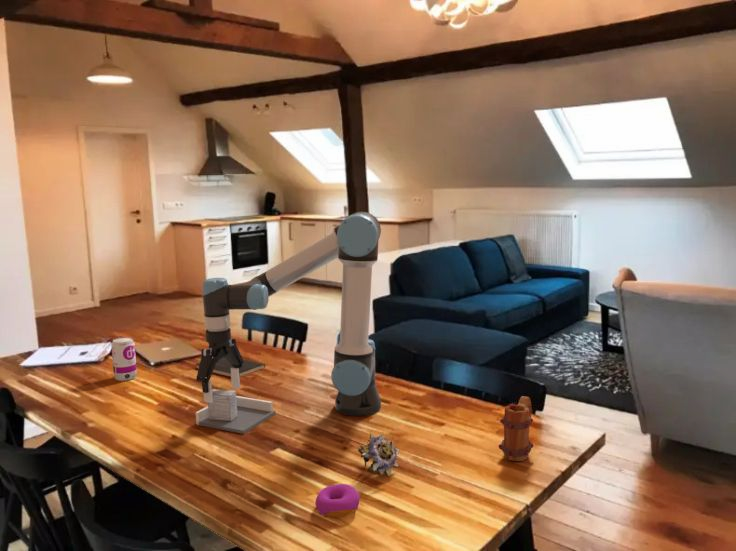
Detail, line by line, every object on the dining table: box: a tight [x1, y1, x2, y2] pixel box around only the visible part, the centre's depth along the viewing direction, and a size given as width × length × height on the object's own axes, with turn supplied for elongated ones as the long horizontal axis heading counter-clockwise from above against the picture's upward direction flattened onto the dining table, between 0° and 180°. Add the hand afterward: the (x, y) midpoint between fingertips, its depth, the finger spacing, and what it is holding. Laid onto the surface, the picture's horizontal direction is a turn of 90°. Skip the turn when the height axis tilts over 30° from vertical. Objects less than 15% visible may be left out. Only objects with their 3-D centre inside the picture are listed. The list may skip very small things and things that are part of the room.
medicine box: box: [207, 388, 238, 421], centre depth 199 cm, size 8×4×9 cm, turn 75°
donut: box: [315, 483, 361, 518], centre depth 147 cm, size 10×10×4 cm
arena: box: [195, 395, 277, 435], centre depth 201 cm, size 18×17×4 cm
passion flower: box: [357, 432, 400, 477], centre depth 165 cm, size 11×11×12 cm
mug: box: [498, 395, 534, 462], centre depth 172 cm, size 15×8×15 cm, turn 148°
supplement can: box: [110, 337, 138, 382], centre depth 243 cm, size 8×8×15 cm
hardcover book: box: [195, 357, 266, 378], centre depth 254 cm, size 16×23×2 cm
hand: (222, 394), depth 198 cm, fingers open, 13 cm apart
